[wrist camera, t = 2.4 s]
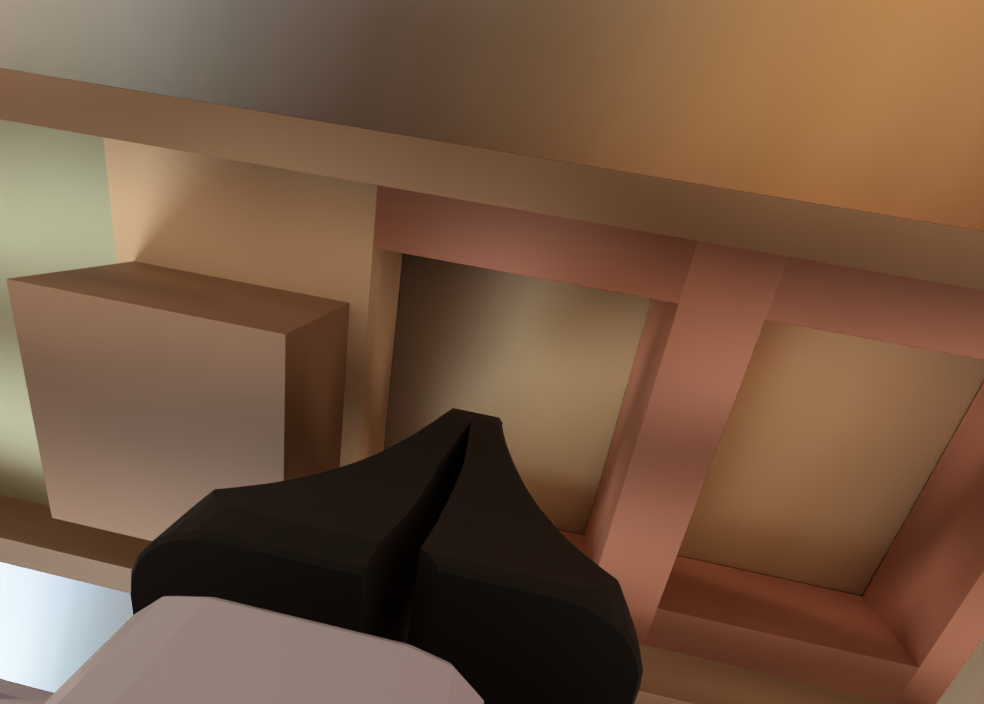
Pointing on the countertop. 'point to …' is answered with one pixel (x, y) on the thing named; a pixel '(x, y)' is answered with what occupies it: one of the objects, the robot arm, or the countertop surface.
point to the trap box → (547, 255)
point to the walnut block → (174, 388)
